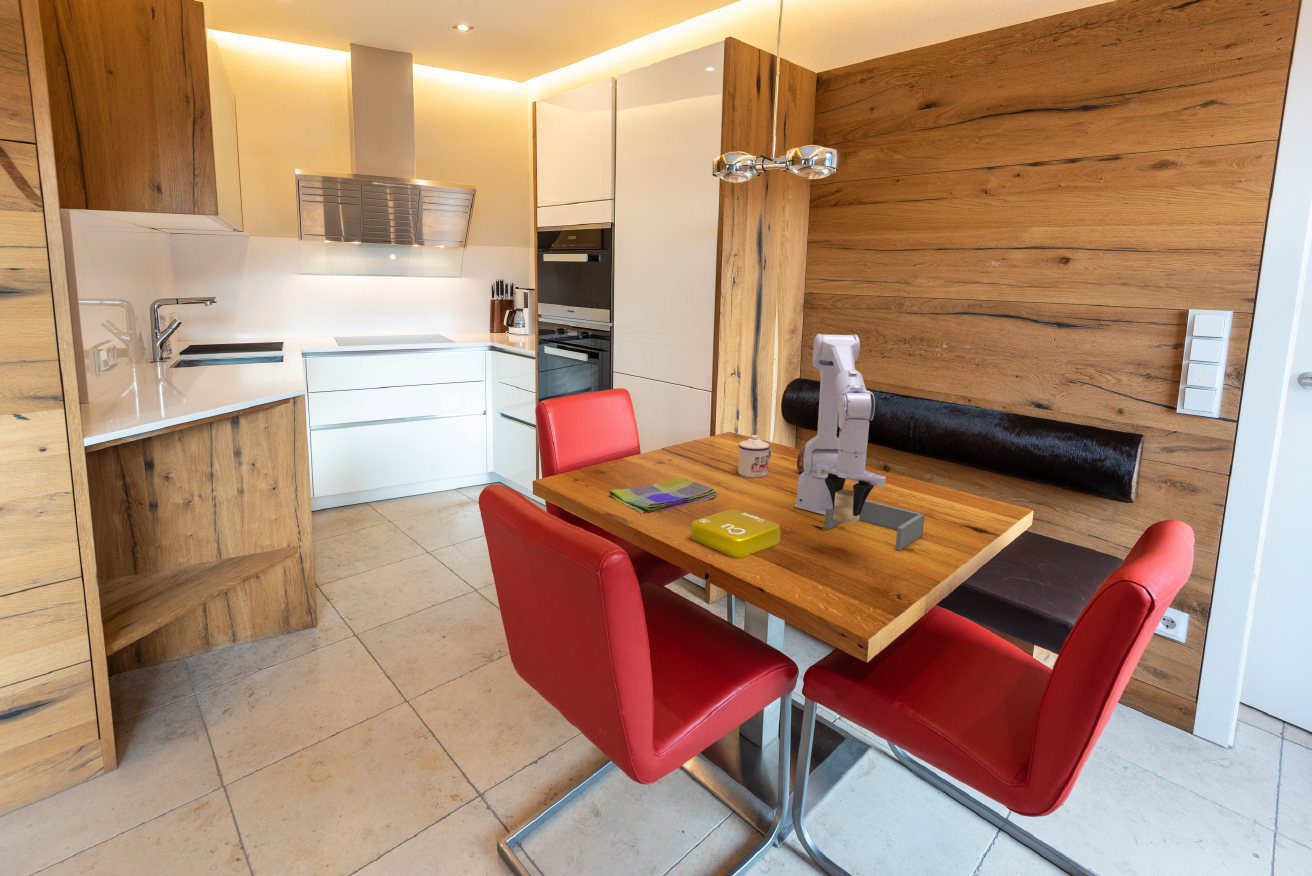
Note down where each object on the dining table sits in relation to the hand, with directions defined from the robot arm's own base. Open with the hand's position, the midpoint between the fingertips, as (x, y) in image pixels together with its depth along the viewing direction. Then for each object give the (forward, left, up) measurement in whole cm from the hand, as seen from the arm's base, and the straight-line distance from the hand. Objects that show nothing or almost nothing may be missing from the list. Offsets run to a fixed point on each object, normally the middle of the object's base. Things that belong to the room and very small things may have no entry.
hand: (846, 512), depth 142 cm
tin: (-37, +50, -9) cm, 63 cm away
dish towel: (-51, -1, -9) cm, 52 cm away
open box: (0, +14, -8) cm, 16 cm away
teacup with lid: (-47, +35, -9) cm, 59 cm away
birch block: (0, 0, -2) cm, 2 cm away
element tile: (-20, -12, -9) cm, 25 cm away
